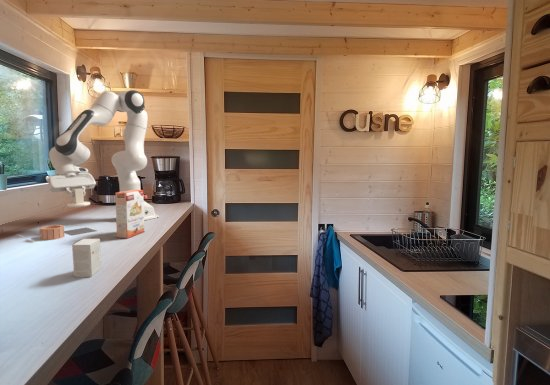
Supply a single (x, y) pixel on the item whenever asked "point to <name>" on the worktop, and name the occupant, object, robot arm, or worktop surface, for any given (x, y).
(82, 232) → the rubber mat
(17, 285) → the worktop surface
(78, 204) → the lid
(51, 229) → the bowl
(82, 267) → the small box
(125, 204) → the cracker box
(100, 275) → the worktop surface
